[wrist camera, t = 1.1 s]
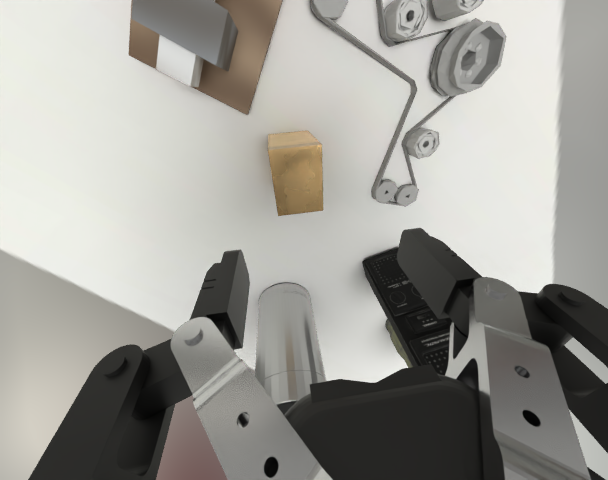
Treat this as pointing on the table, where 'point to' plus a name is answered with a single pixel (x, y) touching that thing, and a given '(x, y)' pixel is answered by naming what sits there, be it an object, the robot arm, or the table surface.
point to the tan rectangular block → (296, 172)
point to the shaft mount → (206, 43)
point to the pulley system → (444, 69)
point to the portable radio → (409, 313)
